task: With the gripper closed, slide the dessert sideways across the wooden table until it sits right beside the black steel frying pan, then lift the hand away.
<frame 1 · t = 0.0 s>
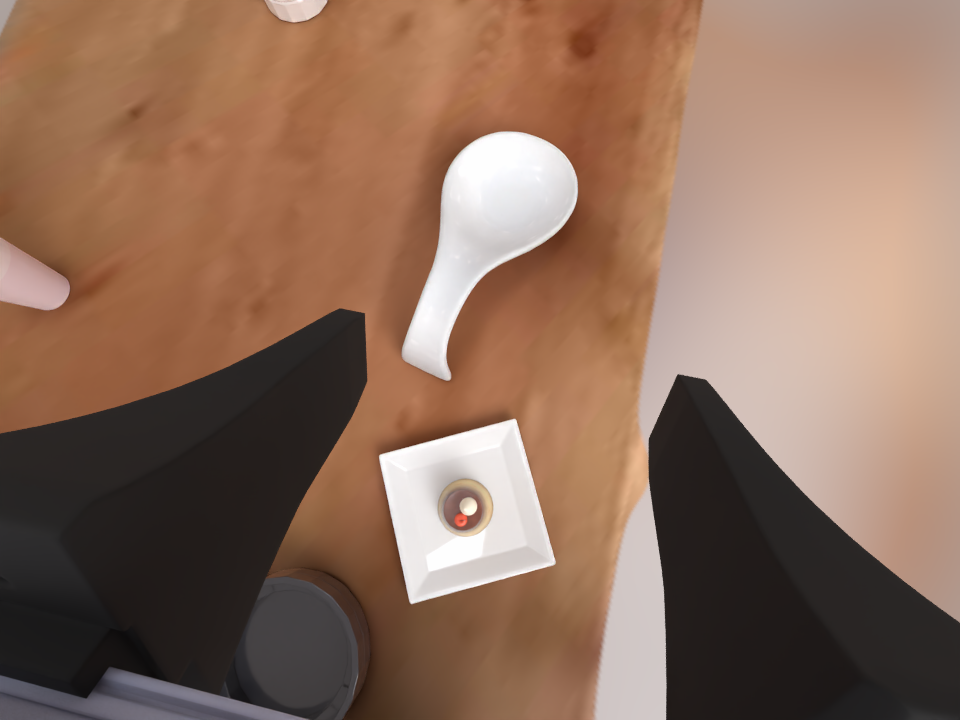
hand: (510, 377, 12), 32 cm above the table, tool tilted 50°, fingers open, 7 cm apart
spoon rest: (484, 261, 47), on the table
pan: (296, 647, 40), on the table
dessert: (465, 506, 42), on the table
smoothie: (52, 292, 48), on the table
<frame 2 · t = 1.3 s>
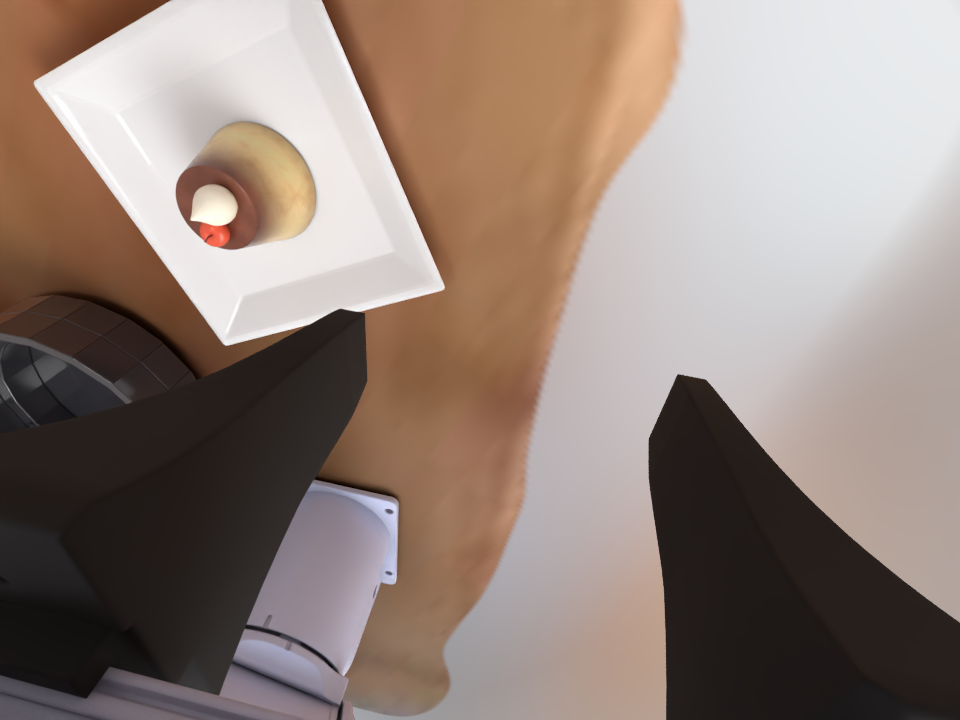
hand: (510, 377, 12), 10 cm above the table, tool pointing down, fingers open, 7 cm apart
pan: (119, 384, 29), on the table
dessert: (266, 181, 21), on the table
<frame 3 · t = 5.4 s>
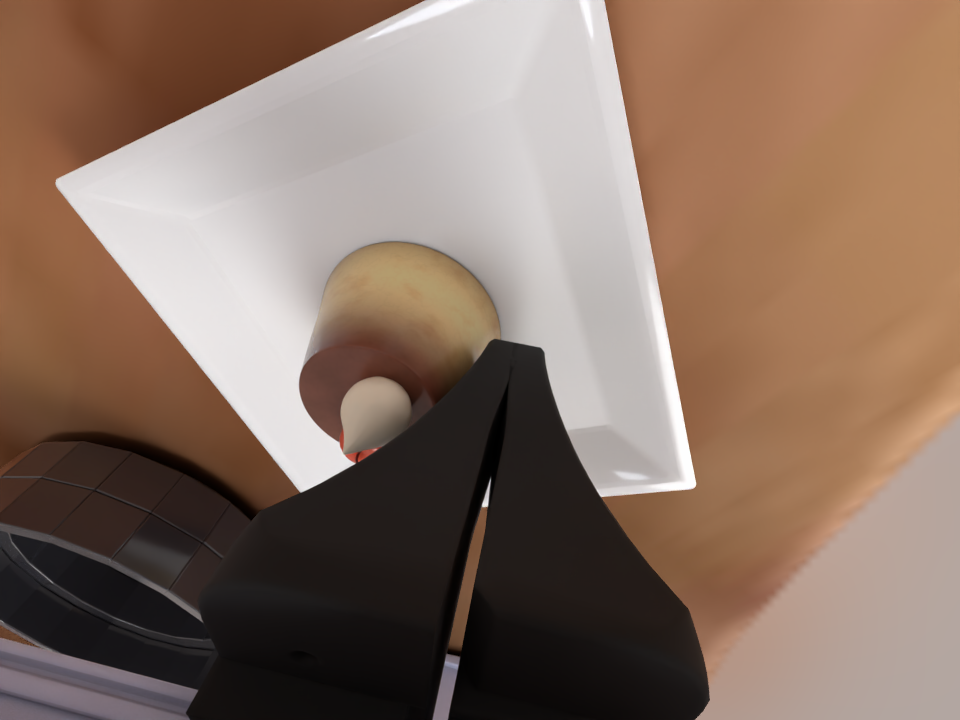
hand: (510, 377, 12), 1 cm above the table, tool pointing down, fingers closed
pan: (164, 532, 22), on the table
dessert: (415, 319, 13), on the table, touching gripper
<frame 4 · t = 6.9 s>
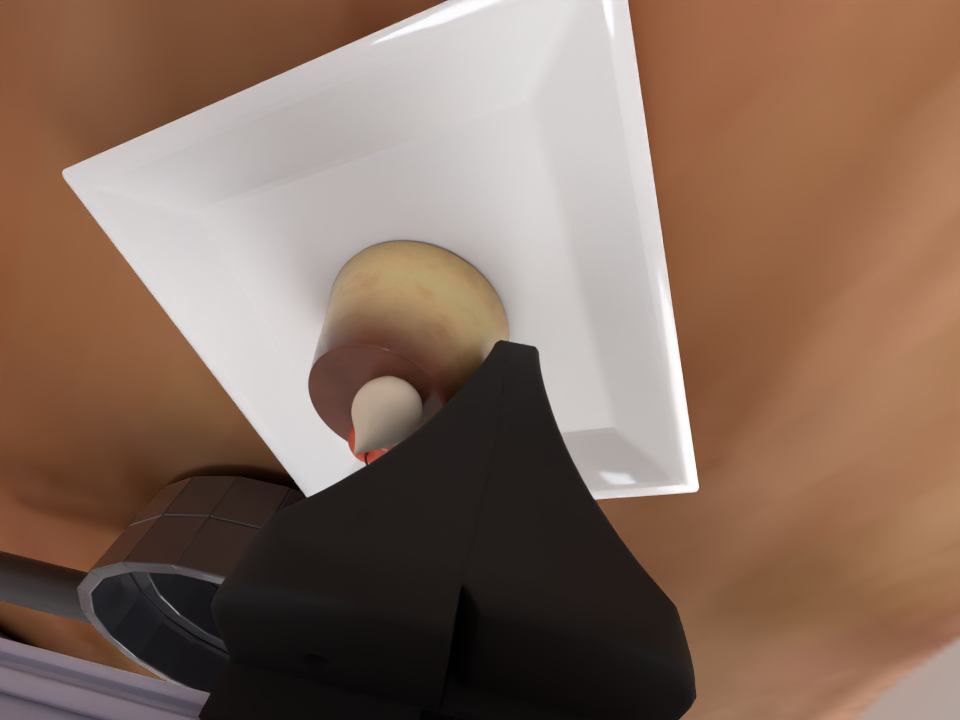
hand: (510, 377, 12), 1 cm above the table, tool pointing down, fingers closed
pan: (293, 563, 22), on the table
dessert: (422, 318, 13), on the table, touching gripper
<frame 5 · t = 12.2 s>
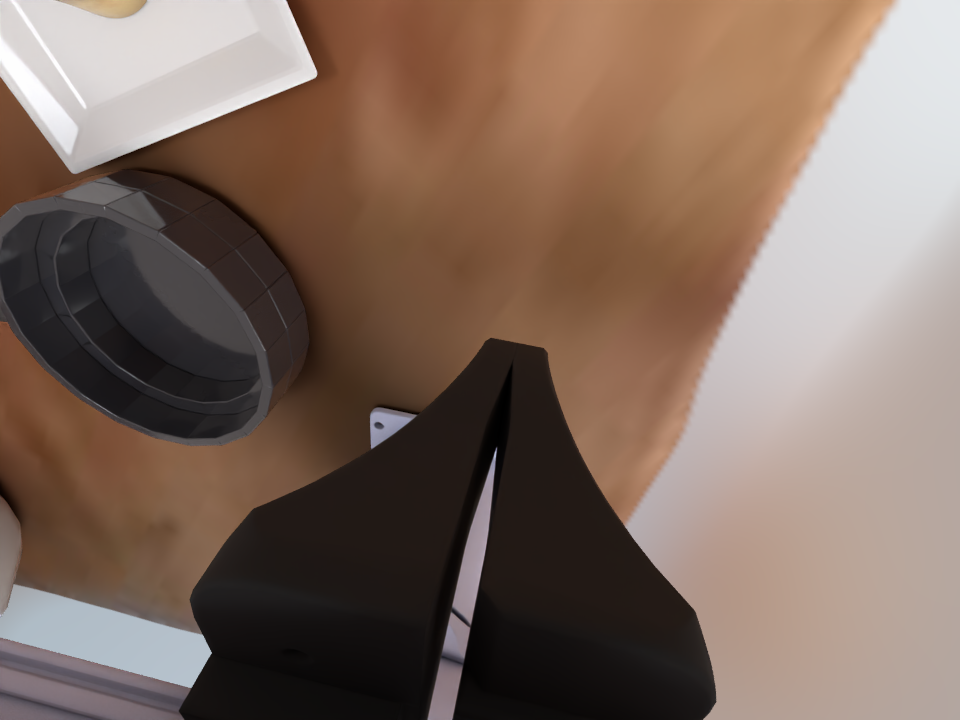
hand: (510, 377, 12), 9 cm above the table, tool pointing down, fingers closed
pan: (193, 296, 24), on the table
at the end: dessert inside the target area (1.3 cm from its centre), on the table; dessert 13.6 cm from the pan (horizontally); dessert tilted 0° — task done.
